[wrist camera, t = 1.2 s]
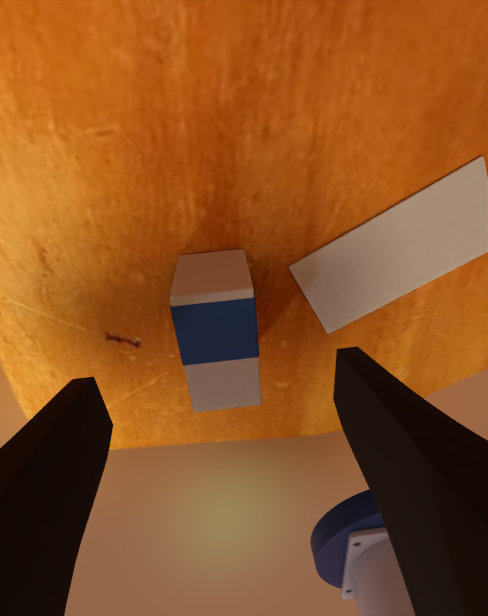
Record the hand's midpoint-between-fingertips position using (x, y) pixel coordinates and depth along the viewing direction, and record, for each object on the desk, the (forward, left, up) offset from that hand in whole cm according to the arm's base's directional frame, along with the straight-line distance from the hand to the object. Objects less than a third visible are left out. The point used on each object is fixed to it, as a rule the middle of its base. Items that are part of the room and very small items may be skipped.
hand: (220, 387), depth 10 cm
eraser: (0, 0, -5) cm, 5 cm away
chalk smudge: (+1, -8, -5) cm, 9 cm away
